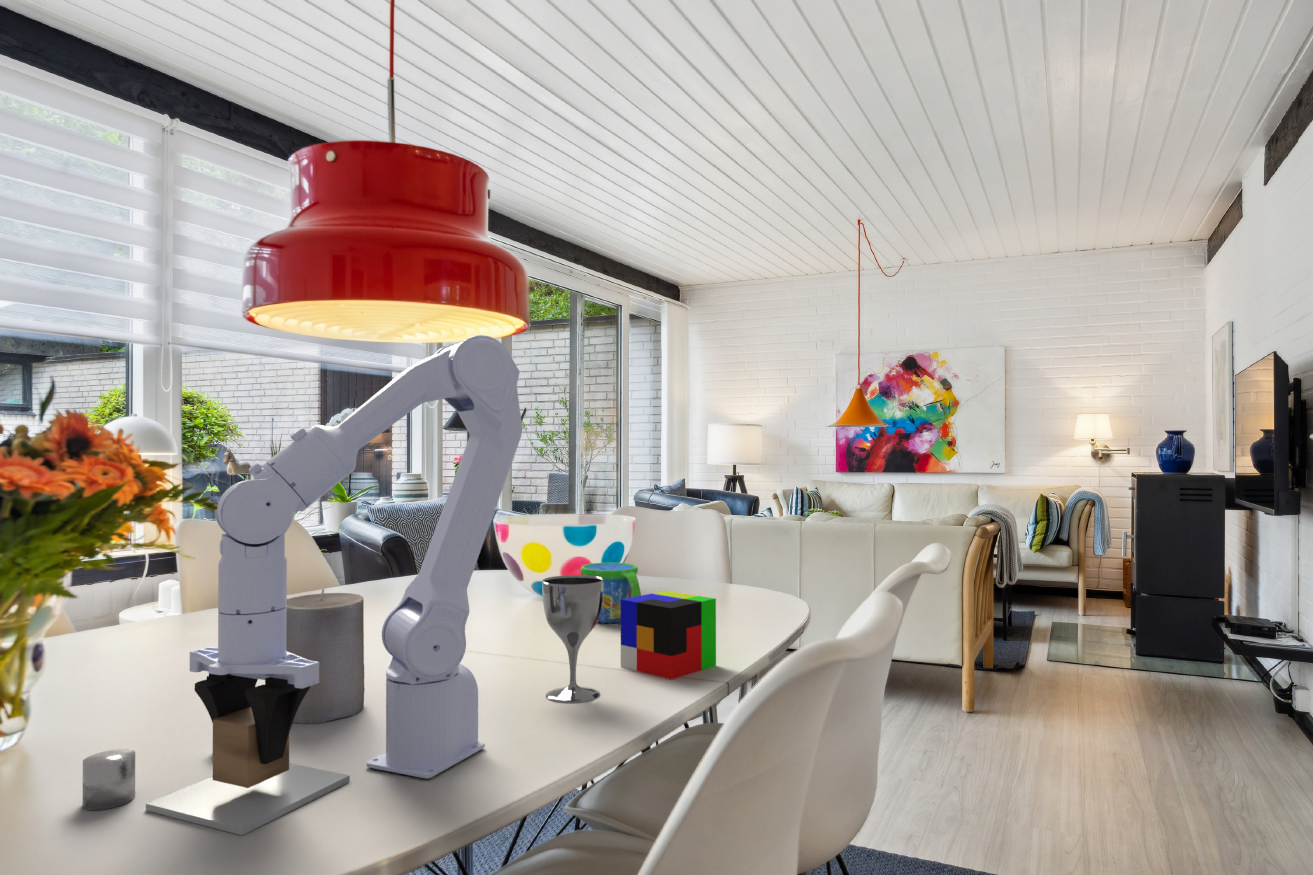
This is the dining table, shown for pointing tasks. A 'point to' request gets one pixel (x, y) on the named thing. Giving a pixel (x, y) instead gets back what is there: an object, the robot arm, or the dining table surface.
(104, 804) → the grey cylinder
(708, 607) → the puzzle toy
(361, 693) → the pillar candle
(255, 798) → the slate tile
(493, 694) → the dining table surface
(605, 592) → the snack cup
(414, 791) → the dining table surface
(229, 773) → the walnut block
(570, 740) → the dining table surface
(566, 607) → the wine glass
